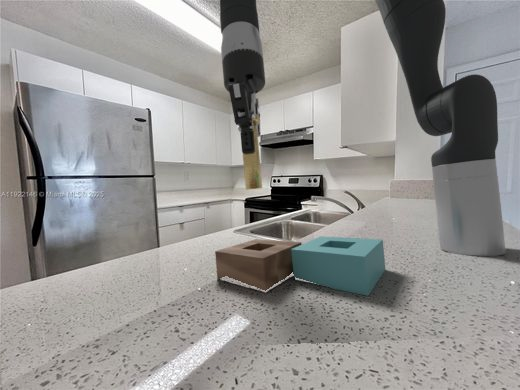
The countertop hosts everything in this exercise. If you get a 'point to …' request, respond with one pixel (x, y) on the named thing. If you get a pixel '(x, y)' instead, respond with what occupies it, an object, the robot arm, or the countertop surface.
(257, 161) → the brass pin
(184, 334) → the countertop surface
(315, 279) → the socket block
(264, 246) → the block
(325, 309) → the countertop surface
